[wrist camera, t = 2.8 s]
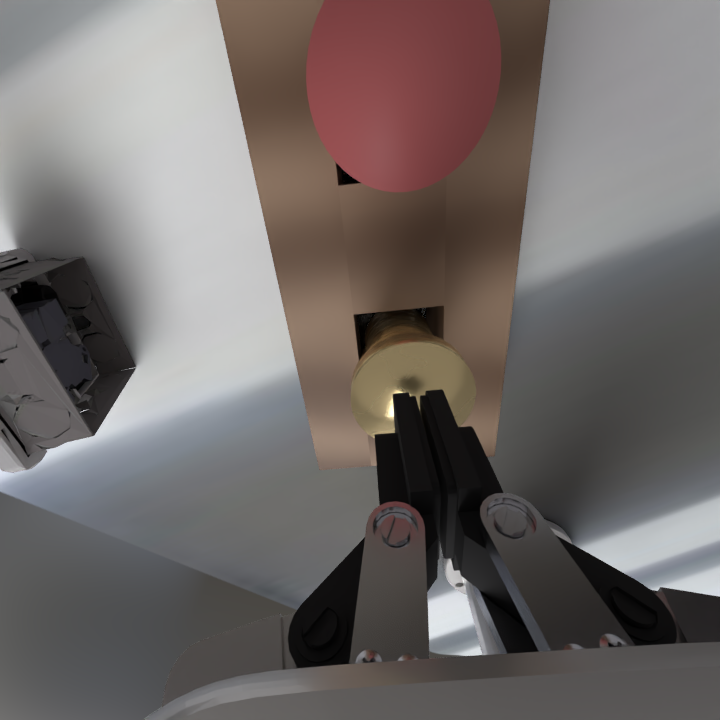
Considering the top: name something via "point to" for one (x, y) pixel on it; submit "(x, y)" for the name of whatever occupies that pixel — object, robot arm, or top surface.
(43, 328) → the electrical switch
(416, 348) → the brass plug
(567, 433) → the top surface
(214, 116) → the top surface
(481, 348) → the plug block
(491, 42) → the oxblood plug
